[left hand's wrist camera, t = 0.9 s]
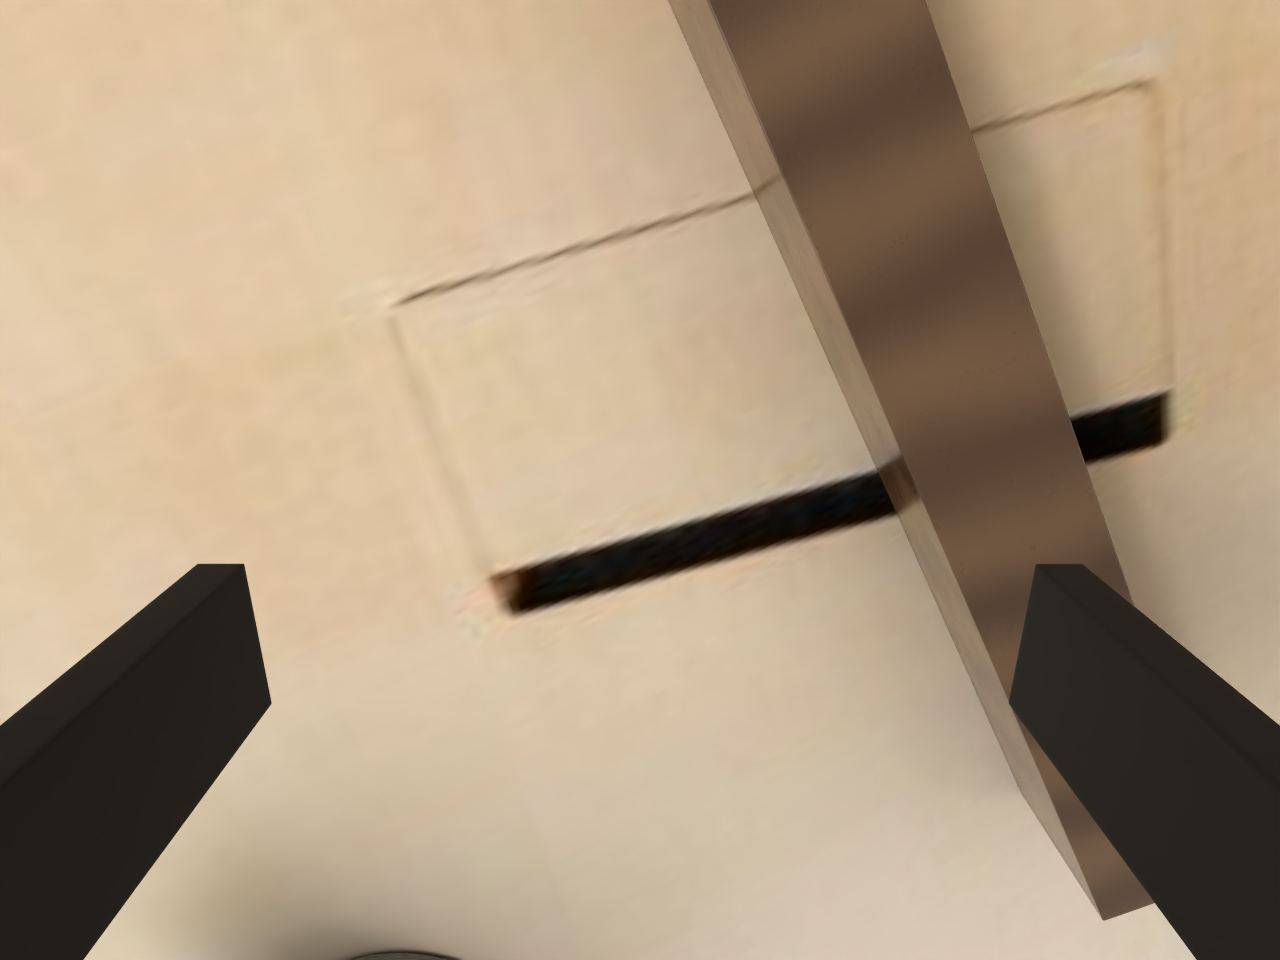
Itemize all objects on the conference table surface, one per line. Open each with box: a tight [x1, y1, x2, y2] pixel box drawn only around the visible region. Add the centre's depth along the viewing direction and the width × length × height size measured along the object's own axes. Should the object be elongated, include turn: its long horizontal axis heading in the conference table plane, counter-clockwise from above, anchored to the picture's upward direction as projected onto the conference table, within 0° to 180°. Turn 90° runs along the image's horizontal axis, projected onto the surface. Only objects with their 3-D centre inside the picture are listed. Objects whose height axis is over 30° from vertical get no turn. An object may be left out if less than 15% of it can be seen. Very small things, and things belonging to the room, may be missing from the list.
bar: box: [668, 0, 1155, 921], centre depth 27 cm, size 69×6×8 cm, turn 28°
